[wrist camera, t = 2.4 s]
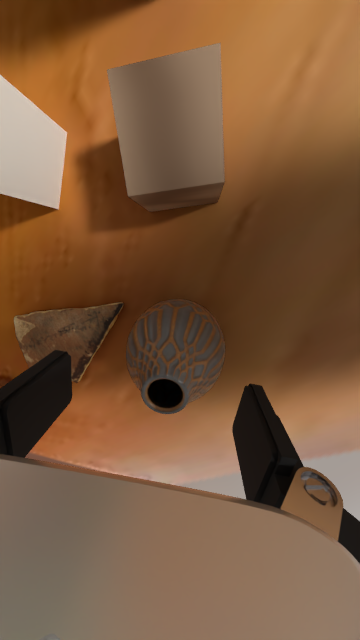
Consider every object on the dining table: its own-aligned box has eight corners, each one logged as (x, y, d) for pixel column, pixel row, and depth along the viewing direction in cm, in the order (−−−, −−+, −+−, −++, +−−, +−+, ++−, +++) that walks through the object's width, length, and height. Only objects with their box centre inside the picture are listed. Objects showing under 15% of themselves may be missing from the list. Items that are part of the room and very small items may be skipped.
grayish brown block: (213, 115, 13) (220, 43, 9) (217, 202, 15) (224, 181, 10) (138, 130, 14) (107, 69, 9) (150, 212, 15) (127, 196, 11)
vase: (187, 375, 20) (178, 466, 12) (129, 334, 19) (73, 400, 11) (237, 324, 18) (268, 390, 9) (172, 274, 17) (145, 299, 8)
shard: (129, 298, 18) (122, 303, 17) (144, 372, 21) (139, 383, 19) (21, 310, 20) (4, 315, 18) (48, 377, 22) (35, 388, 20)
